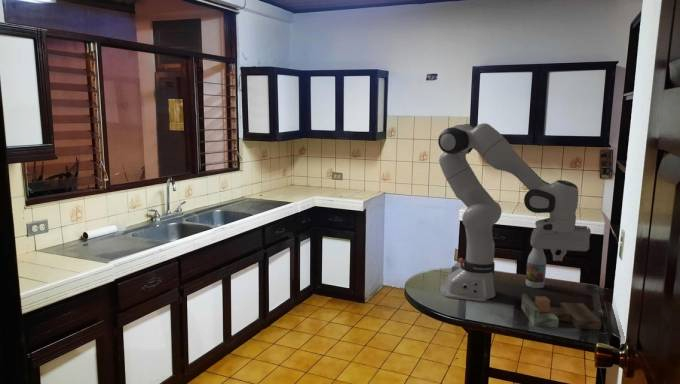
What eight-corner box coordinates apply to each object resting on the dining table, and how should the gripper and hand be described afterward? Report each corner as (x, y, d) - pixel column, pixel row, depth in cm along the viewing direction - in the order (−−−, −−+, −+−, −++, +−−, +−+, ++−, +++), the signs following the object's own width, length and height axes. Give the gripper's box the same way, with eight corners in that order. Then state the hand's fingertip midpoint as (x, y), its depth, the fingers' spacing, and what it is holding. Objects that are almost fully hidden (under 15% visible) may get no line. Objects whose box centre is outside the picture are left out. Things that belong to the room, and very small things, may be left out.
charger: (478, 270, 234) (471, 279, 221) (459, 266, 238) (451, 275, 225) (479, 260, 233) (471, 269, 220) (460, 257, 237) (451, 265, 224)
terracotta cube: (537, 311, 178) (538, 300, 177) (534, 307, 182) (535, 296, 181) (549, 312, 178) (550, 300, 177) (545, 307, 182) (546, 296, 181)
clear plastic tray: (533, 326, 173) (534, 310, 172) (521, 308, 189) (522, 293, 188) (600, 329, 171) (602, 313, 170) (582, 310, 187) (583, 296, 186)
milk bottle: (528, 281, 218) (531, 238, 215) (546, 285, 214) (550, 241, 211) (523, 286, 212) (526, 242, 209) (541, 290, 208) (545, 245, 204)
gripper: (587, 224, 180) (583, 259, 183) (531, 221, 182) (527, 256, 185) (594, 228, 174) (589, 265, 176) (536, 225, 176) (531, 261, 179)
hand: (557, 260), depth 181 cm, fingers closed
